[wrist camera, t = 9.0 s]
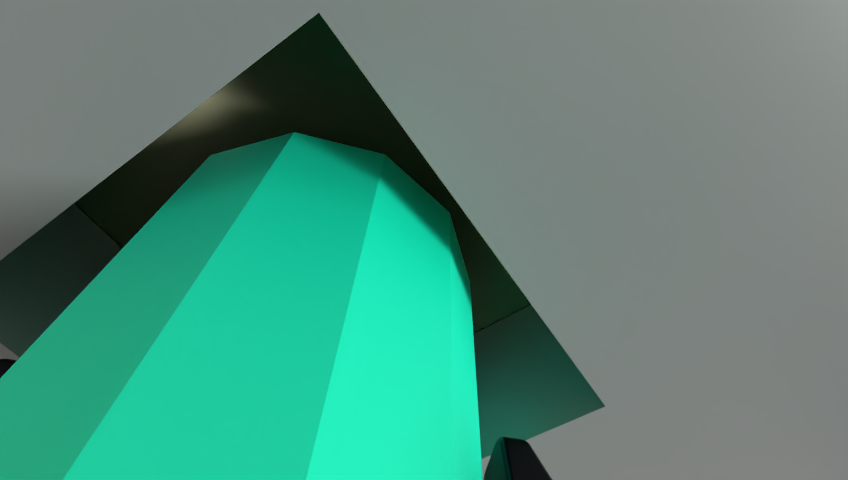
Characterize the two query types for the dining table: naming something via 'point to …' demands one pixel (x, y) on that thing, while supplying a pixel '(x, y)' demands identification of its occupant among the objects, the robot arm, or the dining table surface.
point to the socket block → (524, 199)
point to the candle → (262, 335)
